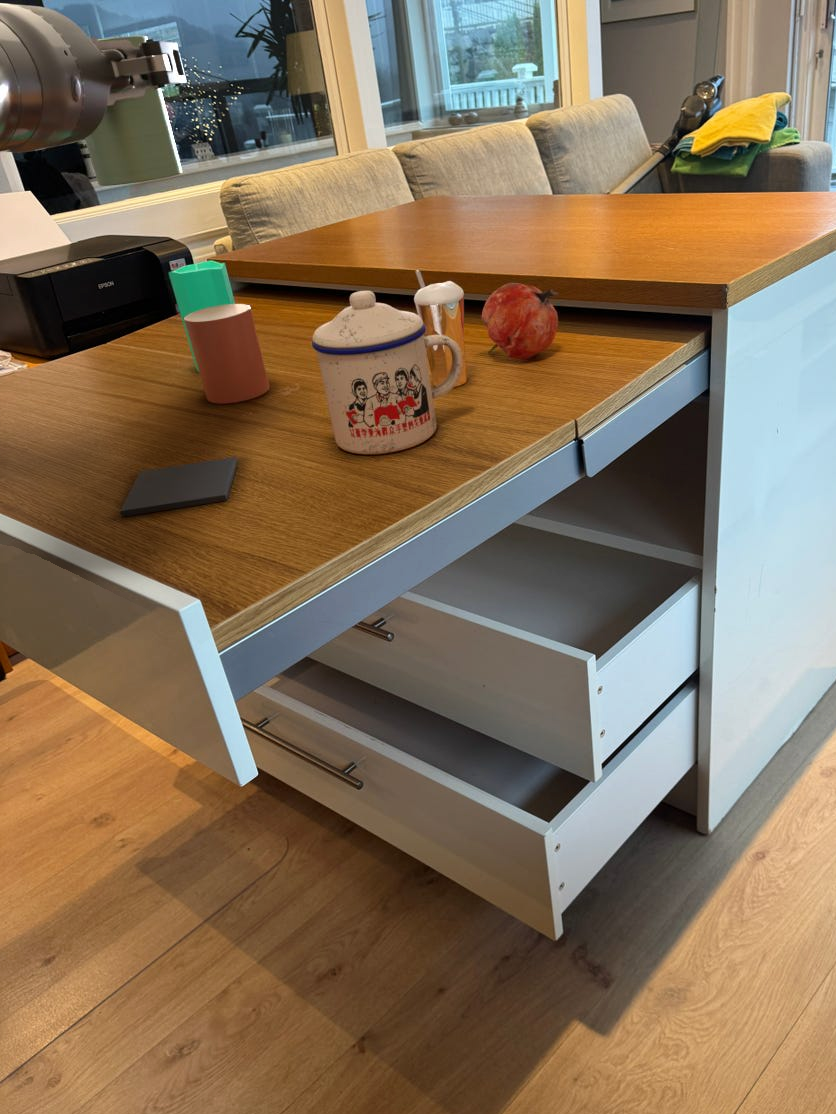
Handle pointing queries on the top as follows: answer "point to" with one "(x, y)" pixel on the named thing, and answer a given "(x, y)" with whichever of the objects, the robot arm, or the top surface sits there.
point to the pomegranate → (520, 320)
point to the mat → (180, 486)
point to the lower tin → (227, 353)
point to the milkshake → (442, 325)
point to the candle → (200, 289)
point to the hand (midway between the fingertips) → (122, 73)
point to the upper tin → (134, 138)
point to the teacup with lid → (380, 376)
